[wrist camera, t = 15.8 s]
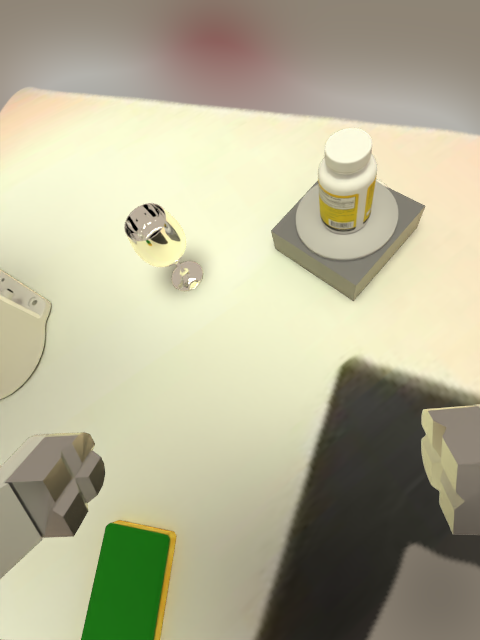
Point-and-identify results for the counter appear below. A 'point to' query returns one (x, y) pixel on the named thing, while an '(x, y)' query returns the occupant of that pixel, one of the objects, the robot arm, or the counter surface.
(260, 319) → the counter surface
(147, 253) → the wineglass
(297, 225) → the kitchen scale
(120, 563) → the dish sponge
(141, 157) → the counter surface
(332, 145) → the supplement bottle
